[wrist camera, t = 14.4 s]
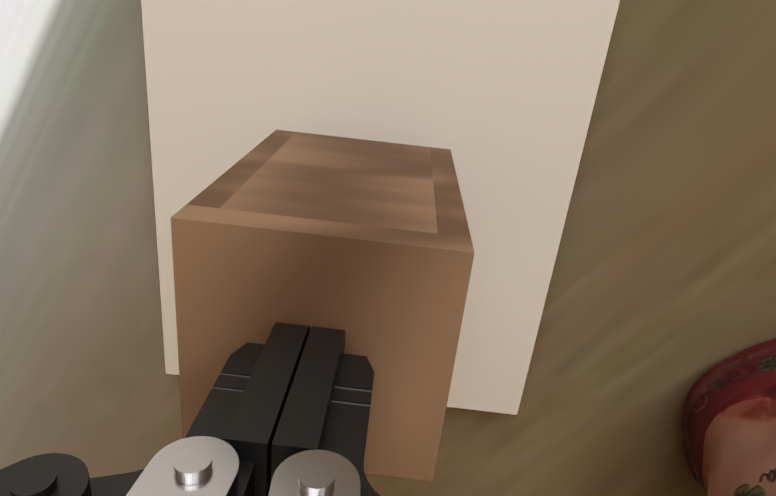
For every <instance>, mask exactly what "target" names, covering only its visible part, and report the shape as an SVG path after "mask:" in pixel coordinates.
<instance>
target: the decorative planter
mask: <svg viewBox="0 0 776 496" xmlns="http://www.w3.org/2000/svg"><path fill="white" fill-rule="evenodd" d="M684 431H685V439H684V448H685V457H686V460H687V464H688V467H689V469H690V471H691V473H692V475H693V477H694V479H695V480H696V481H697V482H698V483H699V484H700V485H701V486H702V487H703V489H704V490H705V492H706V494H707V496H776V340H772V341H769V342H765V343H762V344H759V345H756V346H753V347H751V348H749V349H747V350H745V351H743V352H741V353H739V354H737V355H735V356H733V357H731V358H729V359H727V360H725V361H723V362H721V363H720V364H718V365H717V366H715V367H714V368H713V369H711V370H710V371H709V372H707V373H706V374H705V375H704V376H702V377H701V378H700V379H699V380H698V381H697V382H696V384H695V385H694V386H693V388H692V389H691V391H690V393H689V395H688V398H687V400H686V404H685V408H684Z"/></svg>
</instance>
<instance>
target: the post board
mask: <svg viewBox="0 0 776 496" xmlns="http://www.w3.org/2000/svg"><path fill="white" fill-rule="evenodd" d="M619 2H620V0H141V5H142V20H143V35H144V50H145V65H146V80H147V96H148V111H149V126H150V141H151V156H152V171H153V187H154V202H155V217H156V232H157V247H158V262H159V278H160V293H161V308H162V323H163V338H164V353H165V369H166V374H175V375H179V360H178V342H177V324H176V307H175V289H174V271H173V253H172V235H171V217H172V216H173V215H174V214H176V213H177V212H178V211H179V210H180V209H182V208H183V207H184V206H185V205H186V204H188V203H189V202H190V201H191V200H192V199H194V198H195V197H196V196H197V195H198V194H200V193H201V192H202V191H203V190H204V189H206V188H207V187H208V186H209V185H210V184H212V183H213V182H214V181H215V180H216V179H218V178H219V177H220V176H221V175H222V174H224V173H225V172H226V171H227V170H228V169H230V168H231V167H232V166H233V165H234V164H236V163H237V162H238V161H239V160H240V159H242V158H243V157H244V156H245V155H246V154H248V153H249V152H250V151H251V150H252V149H254V148H255V147H256V146H257V145H258V144H260V143H261V142H262V141H263V140H264V139H266V138H267V137H268V136H269V135H270V134H272V133H273V132H274V131H275V130H284V131H293V132H302V133H311V134H319V135H328V136H337V137H346V138H354V139H363V140H372V141H380V142H389V143H398V144H407V145H415V146H424V147H433V148H442V149H450V150H451V154H452V158H453V162H454V167H455V171H456V175H457V179H458V184H459V188H460V192H461V197H462V201H463V205H464V210H465V214H466V218H467V222H468V227H469V231H470V235H471V240H472V244H473V248H474V258H473V264H472V269H471V275H470V280H469V286H468V291H467V297H466V302H465V308H464V313H463V319H462V325H461V330H460V336H459V341H458V347H457V352H456V358H455V363H454V369H453V374H452V380H451V385H450V391H449V396H448V402H447V407H454V408H462V409H471V410H479V411H488V412H496V413H505V414H513V415H517V413H518V409H519V405H520V401H521V397H522V393H523V389H524V385H525V381H526V377H527V373H528V369H529V365H530V361H531V356H532V352H533V348H534V344H535V340H536V336H537V332H538V328H539V324H540V320H541V316H542V312H543V308H544V304H545V300H546V296H547V292H548V288H549V284H550V280H551V276H552V272H553V268H554V264H555V260H556V256H557V252H558V248H559V244H560V240H561V236H562V232H563V228H564V224H565V220H566V216H567V212H568V208H569V203H570V199H571V195H572V191H573V187H574V183H575V179H576V175H577V171H578V167H579V163H580V159H581V155H582V151H583V147H584V143H585V139H586V135H587V131H588V127H589V123H590V119H591V115H592V111H593V107H594V103H595V99H596V95H597V91H598V87H599V83H600V79H601V75H602V71H603V67H604V63H605V59H606V55H607V50H608V46H609V42H610V38H611V34H612V30H613V26H614V22H615V18H616V14H617V10H618V6H619Z"/></svg>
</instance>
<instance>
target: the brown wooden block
mask: <svg viewBox="0 0 776 496" xmlns="http://www.w3.org/2000/svg"><path fill="white" fill-rule="evenodd" d="M171 235H172V253H173V271H174V289H175V307H176V324H177V342H178V360H179V378H180V396H181V414H182V432H183V439H184V438H185V436H186V435H187V433H188V431H189V429H190V427H191V425H192V424H193V422H194V420H195V418H196V416H197V414H198V413H199V411H200V409H201V407H202V405H203V403H204V402H205V400H206V398H207V396H208V394H209V393H210V391H211V389H213V385H214V383H215V382H216V380H217V378H218V376H219V375H220V374H221V371H222V369H223V367H224V365H225V363H226V361H227V360H228V358H229V356H230V355H231V354H232V353H234V352H235V351H236V350H238V349H239V348H240V347H242V346H243V345H244V344H246V343H247V342H249V343H258V344H265V343H266V341H267V339H268V337H269V335H270V332H271V330H272V328H273V326H274V324H275V323H276V322H280V323H288V324H297V325H305V326H310V329H311V327H312V326H315V327H323V328H332V329H341V330H345V331H346V336H345V348H344V354H352V355H361V356H367V358H368V360H369V362H370V364H371V366H372V368H373V370H374V380H373V389H372V398H371V406H370V415H369V424H368V432H367V441H366V449H365V457H364V473H366V474H374V475H383V476H391V477H400V478H408V479H417V480H425V481H433V479H434V473H435V468H436V462H437V457H438V451H439V446H440V440H441V435H442V429H443V424H444V418H445V413H446V407H447V402H448V396H449V391H450V385H451V380H452V374H453V369H454V363H455V358H456V352H457V347H458V341H459V336H460V330H461V325H462V319H463V313H464V308H465V302H466V297H467V291H468V286H469V280H470V275H471V269H472V264H473V258H474V248H473V244H472V240H471V235H470V231H469V227H468V222H467V218H466V214H465V210H464V205H463V201H462V197H461V192H460V188H459V184H458V179H457V175H456V171H455V167H454V162H453V158H452V154H451V150H450V149H442V148H433V147H424V146H415V145H407V144H398V143H389V142H380V141H372V140H363V139H354V138H346V137H337V136H328V135H319V134H311V133H302V132H293V131H284V130H275V131H274V132H273V133H272V134H270V135H269V136H268V137H267V138H266V139H264V140H263V141H262V142H261V143H260V144H258V145H257V146H256V147H255V148H254V149H252V150H251V151H250V152H249V153H248V154H246V155H245V156H244V157H243V158H242V159H240V160H239V161H238V162H237V163H236V164H234V165H233V166H232V167H231V168H230V169H228V170H227V171H226V172H225V173H224V174H222V175H221V176H220V177H219V178H218V179H216V180H215V181H214V182H213V183H212V184H210V185H209V186H208V187H207V188H206V189H204V190H203V191H202V192H201V193H200V194H198V195H197V196H196V197H195V198H194V199H192V200H191V201H190V202H189V203H188V204H186V205H185V206H184V207H183V208H182V209H180V210H179V211H178V212H177V213H176V214H174V215H173V216H172V217H171Z"/></svg>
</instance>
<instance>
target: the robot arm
mask: <svg viewBox="0 0 776 496" xmlns="http://www.w3.org/2000/svg"><path fill="white" fill-rule="evenodd" d="M345 336H346V331H345V330H341V329H332V328H323V327H315V326H312V327H311V329H310V326H305V325H297V324H288V323H280V322H276V323H275V324H274V326H273V328H272V330H271V332H270V335H269V337H268V339H267V341H266V343H265V344H258V343H249V342H247V343H246V344H244V345H243V346H242V347H240V348H239V349H238V350H236V351H235V352H234V353H232V354H231V355H230V356H229V358H228V360H227V361H226V363H225V365H224V367H223V369H222V371H221V374H220V375H219V376H218V378H217V380H216V382H215V383H214V385H213V389H211V391H210V393H209V394H208V396H207V398H206V400H205V402H204V403H203V405H202V407H201V409H200V411H199V413H198V414H197V416H196V418H195V420H194V422H193V424H192V425H191V427H190V429H189V431H188V433H187V435H186V436H185V438H184V439H181V440H178V441H175V442H173V443H171V444H169V445H167V446H166V447H164V448H163V449H161V450H160V451H159V452H158V453H157V454H156V455H155V456H154V457H153V458H152V459H151V461H150V462H149V464H148V465H147V466H146V468H145V469H143V470H139V471H136V472H131V473H125V474H118V475H111V476H104V477H96V478H89V472H88V468H87V467H86V465H85V463H83V462H82V461H81V460H80V459H78V458H77V457H74V456H72V455H68V454H62V453H50V454H42V455H37V456H33V457H30V458H26V459H24V460H21V461H19V462H17V463H14V464H12V465H10V466H8V467H6V468H3V469H1V470H0V496H380V495H379V494H378V493H376V492H375V491H374V489H373V488H372V487H371V486H370V484H369V482H368V481H367V478H366V476H365V473H364V457H365V449H366V441H367V432H368V424H369V415H370V406H371V398H372V389H373V380H374V370H373V368H372V366H371V364H370V362H369V360H368V358H367V356H361V355H352V354H344V348H345Z"/></svg>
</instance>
